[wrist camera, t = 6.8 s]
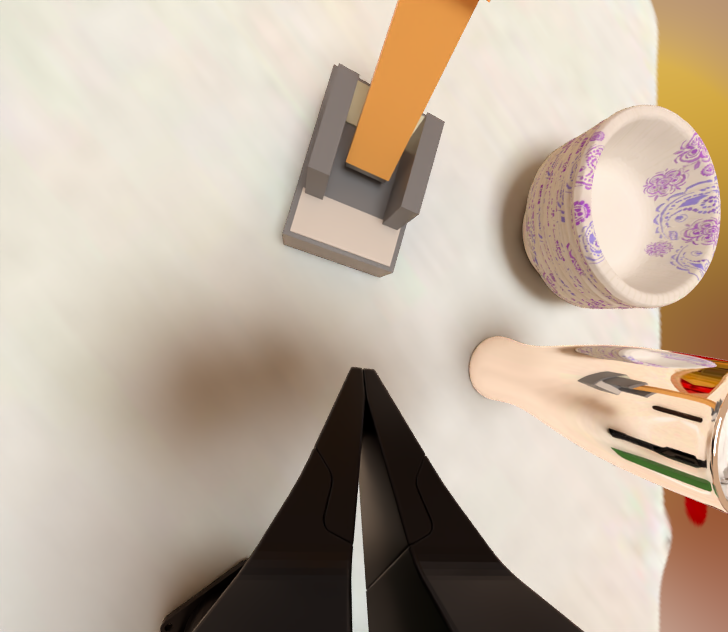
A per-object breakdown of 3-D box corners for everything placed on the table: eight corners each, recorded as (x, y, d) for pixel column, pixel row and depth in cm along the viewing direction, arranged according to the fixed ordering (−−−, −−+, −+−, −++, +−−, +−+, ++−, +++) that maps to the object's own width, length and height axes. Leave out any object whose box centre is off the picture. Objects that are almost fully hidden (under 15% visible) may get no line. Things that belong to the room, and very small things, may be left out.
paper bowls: (476, 183, 24) (560, 126, 17) (589, 142, 28) (701, 80, 20) (525, 332, 26) (620, 342, 19) (624, 277, 30) (739, 266, 22)
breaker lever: (388, 195, 18) (528, -73, 9) (337, 172, 17) (439, -151, 8) (389, 174, 19) (512, -75, 10) (343, 152, 18) (434, -142, 10)
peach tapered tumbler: (451, 359, 24) (689, 435, 10) (504, 317, 26) (780, 328, 11) (486, 417, 25) (743, 562, 11) (534, 374, 27) (819, 451, 12)
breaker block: (379, 277, 22) (414, 265, 16) (283, 244, 20) (280, 215, 14) (417, 144, 23) (465, 81, 16) (328, 98, 21) (343, 7, 14)
